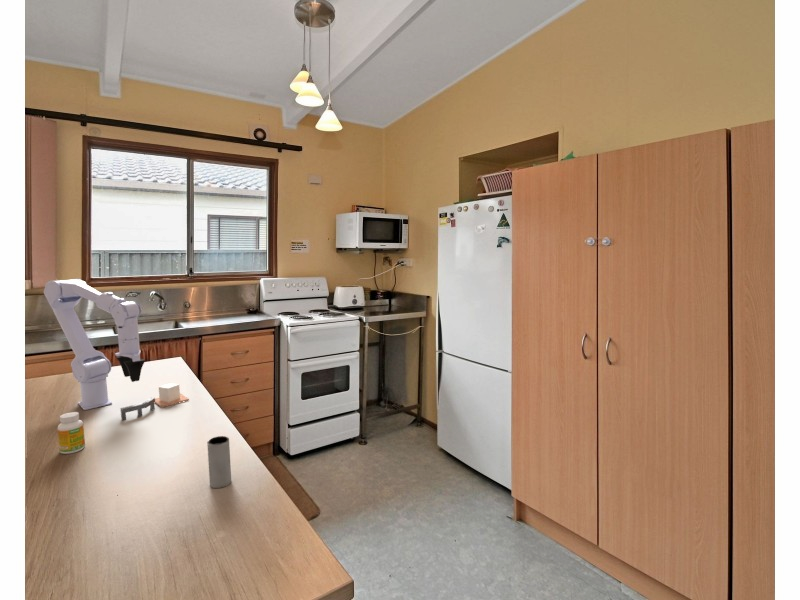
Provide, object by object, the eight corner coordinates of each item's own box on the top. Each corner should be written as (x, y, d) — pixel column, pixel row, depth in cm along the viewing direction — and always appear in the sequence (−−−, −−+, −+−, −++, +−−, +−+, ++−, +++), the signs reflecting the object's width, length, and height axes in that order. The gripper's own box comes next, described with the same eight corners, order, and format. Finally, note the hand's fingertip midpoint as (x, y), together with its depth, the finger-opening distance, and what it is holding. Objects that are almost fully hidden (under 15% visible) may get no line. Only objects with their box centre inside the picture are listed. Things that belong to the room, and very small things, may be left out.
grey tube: (223, 475, 100) (221, 434, 99) (235, 481, 97) (233, 439, 96) (205, 484, 96) (203, 441, 95) (217, 490, 94) (214, 446, 92)
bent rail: (118, 416, 135) (117, 405, 135) (154, 407, 143) (154, 397, 142) (122, 420, 132) (121, 409, 131) (159, 411, 140) (158, 400, 139)
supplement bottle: (71, 455, 110) (68, 419, 109) (54, 453, 111) (50, 417, 110) (90, 445, 115) (87, 411, 114) (73, 444, 116) (70, 410, 115)
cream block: (159, 400, 148) (158, 386, 147) (170, 396, 152) (169, 382, 151) (169, 402, 146) (168, 388, 145) (180, 398, 150) (179, 384, 149)
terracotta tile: (152, 401, 149) (152, 399, 149) (179, 394, 155) (179, 392, 155) (161, 407, 143) (161, 405, 143) (189, 400, 149) (189, 398, 149)
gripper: (108, 337, 141) (112, 376, 143) (120, 343, 131) (124, 386, 133) (132, 334, 146) (135, 372, 148) (146, 340, 136) (149, 381, 138)
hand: (131, 378), depth 141 cm, fingers open, 7 cm apart
